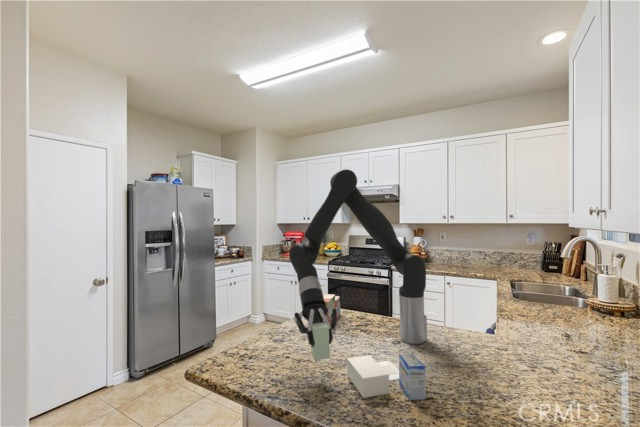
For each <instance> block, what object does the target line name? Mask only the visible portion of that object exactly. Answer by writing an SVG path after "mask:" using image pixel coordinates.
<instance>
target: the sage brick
mask: <svg viewBox="0 0 640 427" xmlns="http://www.w3.org/2000/svg"><path fill="white" fill-rule="evenodd" d="M311 327H312V330H311V331H312V332H313V337H314V341H315V345H314V347H311V346H310V350H311V351H310V354H311V356H312V357H313V359H314V361H319V360H320V361H321V360H325V359H330V358H331V357H330V355H331V354H330V344H329V327H328V325H327V324H326V323H324V322H321V323H313V324H312V325H311Z"/></svg>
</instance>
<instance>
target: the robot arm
mask: <svg viewBox="0 0 640 427" xmlns="http://www.w3.org/2000/svg"><path fill="white" fill-rule="evenodd" d="M329 181H330V182H329V183H330V191H329V193H328V195H327V196H326V199H325V200H324V202H323V203H322V205H321V206H320V208H319V209H318V211H317V212H316V213H315V215H314V216H313V217H312V220H311V221H310V223H309V225H308V226H307V229H306V230H305V232H304V237H305V239H307V240H308V244H307V245H308V246H307V245H305V244H303V243H300V242H296V243H293V244H292V246H291V247H290V249H289V255H288V258H289V261H290V263H291V265H292V267H293V269H294V271H295V273H296V275H297V281H298V292H299V294H298V295H299V297H300V299H299V300H300V303H301V309H302V310H301V312H295V313H294V315H293V319H294V322H295V324H296V326H297V328H298V330H299V332H300V334H302V335H303V334H306V336H307V341H308V344H309V346H310V348H311V347H314V345H315V341H314V337H313V332H312V331H311V330H312V327H311V325H312V324H313V323H321V322H324V323H326V324H327V325H328V327H329V345H331V344H332V342H333V340H334V338H333V333H332V331H334V330H335V329H336V326H337V319H336V309H333V310H331V309H328V308H327V307H326V305H325V301H324V297H323V294H324V293H323V290H322V285H321V282H320V280H319V276H318V272H317V268H316V267H315V266H314V264H315V262H317V260H318V256H319V253H320V249H321V244H322V241H323V239H324V238H325V235H326V234H327V233H328V231H329V228H330V227H331V225H332V223H333V221H334V219H335V217H336V215H337V214H338V212H339V210H340V209H341V207H342V205H343V204H345V205H346V206H347V207H348V208H349V210H350V211H351V212H352V213H353V215H354V217H356V220H357V221H358V222H359V223H360V224H361V226H362V228H364V230H365V231H366V233H368V235H369V236H370V237H371V238H372V239H373V241H374V242H375V243H376V244H377V245H378V246H379V247H380V248H381V249H382V250H383V251H384V253H385V254H386V256H387V258H388V259H389V260H390V261H391V263H392V264H393V266H394V268H395V269H396V271H397V272H398V273H399V274H400V275H402V285H401V286H400V287H399V289H398V291H399V292H398V296H399V298H398V299H399V335H400V336H399V337H400V338H399V339H400V340H401V341H402V342H403V343H406V344H410V345H411V344H412V345H420V344H423V343H425V342H427V341H428V323H427V322H428V317H427V315H426V314H425V295H424V294H425V289H426V288H427V287H426V286H427V266H426V262H425V260H424V258H423V257H421V256H420V255H418V254H414V253H410V252H409V251H408V250H407V249H406V248H405V247H404V245H402V243H401V242H400V240H399V239H398V237H397V234H396V231H395V228H394V227H393V225H392V224H391V222H390V221H389V219H388V218H387V217H386V215H385V214H384V213H383V212H382V211H381V209H379V208H378V207H377V206H375V205H374V204H373V203H372V202H371V201H369V200H368V199H367V198H366V197H364V195H363V194H362V193H361V192H360V190H359V189H358V187H357V184H358V176H357V175H356V173H355V172H354V171H353V170H351V169H349V168H347V169H344V168H343V169H340V170H339V171H336V172H335V173H334V174H333V175H332V176H331V179H330V180H329ZM327 313H328V314H329V316H330V317H331V324H329V323H328V320H327V318H326V315H327ZM303 318H304V319H305V320H306V321H307V325H306V326H307V327H306V326H305V324H304V322H303V320H302V319H303Z"/></svg>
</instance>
